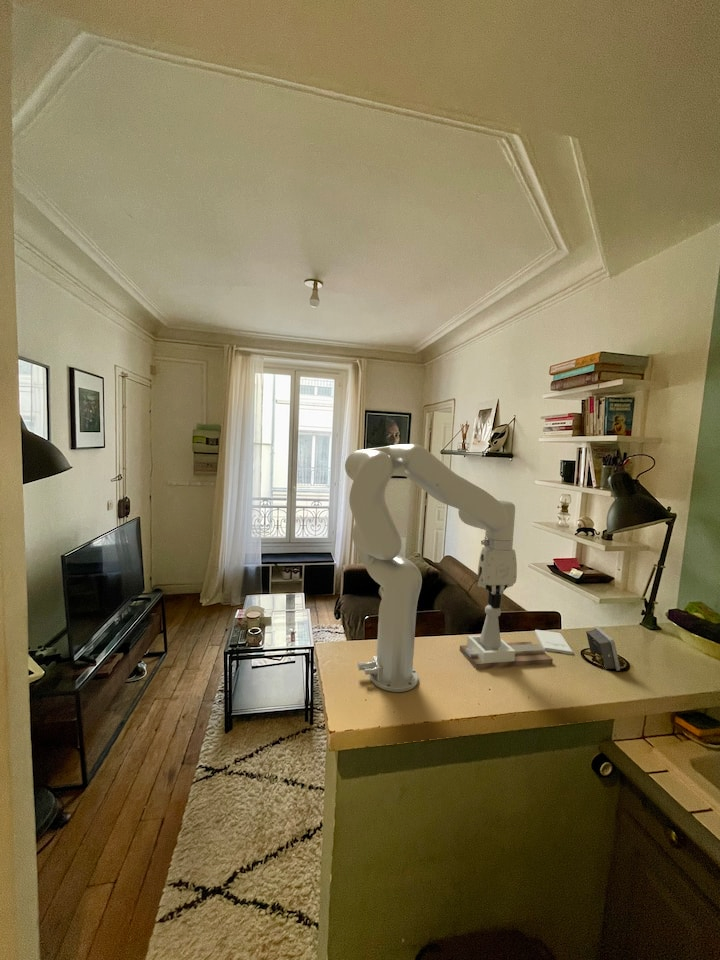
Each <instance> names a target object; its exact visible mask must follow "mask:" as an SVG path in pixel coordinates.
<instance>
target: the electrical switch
mask: <svg viewBox="0 0 720 960" xmlns="http://www.w3.org/2000/svg"><path fill="white" fill-rule="evenodd" d="M585 633H586V637H587V642H588V646H589V651H590V654H591V653H597V654H599V655H601V656H602V657H603V658H601V659H603V660H602V661H604V666H605V668H604V670H607V669H614V668H615V669H616V670H615V669H614V670H615V671H616V672H617V671H621V667H620V661H619V657H618V651H617V647H616V643H615V641H614V639H613V638H612V637H611V636H610V635H608V634H607V633H606V632H605V631H604V630H602V629H601V628H600V627H599V626H597V625H596V626H594V629H590V630H586V632H585ZM601 659H600V660H601Z"/></svg>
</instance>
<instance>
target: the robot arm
mask: <svg viewBox="0 0 720 960" xmlns="http://www.w3.org/2000/svg"><path fill="white" fill-rule="evenodd" d="M344 470H345V472H346V475H347V476H348V478H350V480H352V484H351V487H350V490H349V498H348V499H349V507H350V511H351V513H352V516H353V519H354V521H355V524H354V526H353V529H352V541H353V544H354V546H355V548H356V551H357V552H358V555H359V557H360V559H361V561H362V563H363V566H364V568H365V569H366V571H367V573H368V575H369V576H370V577H371V579H373V581H374V582H375V583H377V584H378V585H380V587H382V588H383V595H382V598H381V600H380V603H379V607H378V620H377V621H378V623H377V638H376V639H377V644H376V655H373V656H372V657H373V658H372V660H369V661H361V662H357V669H358V671H364V675H365V676H367V675H369V679H370V680H371V682H372V683H373V684H374V685H375V686H376V687H378V688H379V689H381V690H385V691H387V692H393V693H404V692H408V691H410V690H412V689H414V688H416V686H417V685H418V683H419V673H418V672H417V670H416V669H415V668H414V653H415V639H416V637H415V636H416V622H417V621H416V620H417V609H418V608H417V607H418V601H419V597H420V593H421V589H422V584H423V578H422V574H421V571H420V568H419V567H418V566H417V565H416V564H415V563H414V562H413V561H412V560H410V559H408V558H406V557H404V556H403V555H400V553H401V550H402V538H401V535H400V532H399V530H398V528H397V526H396V523H395V521H394V519H393V518H392V515H391V513H390V511H389V508H388V506H387V503H386V499H385V497H386V496H385V495H386V489H387V488H388V487H387V486H388V484H389V482H390V480H391V478H392V477H395V476H401V477H405V478H407V479H409V480H410V481H412V483H414V484H415V485H417V486H418V487H419V488H420V489H422V490H423V491H425V492H426V493H427V494H428V495H429V496H431V497H432V498H433V499H435V500H436V501H439V502H440V503H442V504H444V505H447V506H450V507H453V508H455V509H457V510H458V517H459V519H460V520H461V522H462V523H464V524H466V525H467V526H470V527H473V528H478V529H481V530H484V531H485V533H484V534H485V536H484V539H482V540H481V541H480V544H481V546H483V547H482V548H481V551H480V555H479V560H478V566H477V567H478V568H477V579H478V582H477V586H478V587H480V588H483V589H486V590H487V592H488V599H487V602H488V605H490V606H492V607H493V608H500V609H501V607H500V606H501V603H502V601H501V600H502V595H503V594H504V591H505V590H506V589H508V588H511V587H513V586H514V584H516V583H517V578H518V576H517V575H518V573H517V571H518V568H517V567H518V565H517V555H516V550H515V549H514V548H513V545H514V530H515V529H514V528H515V518H516V505H515V504H514V503H513V502H510V501H508V500H507V501H505V500H498V499H497V498H495V497H494V496H493V495H491V494H490V492H488V491H486V490H484V489H482V488H481V487H479V486H477V484H474V483H472V482H471V481H469V480H467V479H465V478H464V477H462V476H460V475H459V474H457V473H456V472H454V471H453V470H452V469H450V468H449V467H448V466H447V465H445V463H443V462H442V461H441V460H440V459H439V458H437V457H436V455H433V453H431V452H430V451H429V450H428V449H427V448H425V447H424V446H423V445H420V444H417V443H401V444H393V445H387V446H380V447H372V448H365V449H358V450H354V451H353V452H351V453H350V454H349V455H348V457H347V458H346V460H345V462H344Z"/></svg>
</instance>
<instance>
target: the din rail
mask: <svg viewBox="0 0 720 960" xmlns="http://www.w3.org/2000/svg"><path fill="white" fill-rule="evenodd" d="M509 646H510V647H511V648H513V649H514V650H515V655H521V654H537V653H546V651H545V649H544V648H543V647H542V645H541V644H538V643H533V644H525V645H509ZM499 648H500V647H499ZM498 650H499V649H498ZM500 650H502V649H500ZM465 652H466V653H467V654H468V655H469V656H470V657H471V658H474V657H478V653H477V652H476V651H475V650H474V649H473V648H465Z"/></svg>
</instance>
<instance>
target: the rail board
mask: <svg viewBox="0 0 720 960" xmlns="http://www.w3.org/2000/svg"><path fill="white" fill-rule="evenodd" d="M506 643H507V644H508V645H525V644H534V643H533V642H531V641H517V642H506ZM465 648H469V647H468V646H467V644H465V645H462V644H461V645H459V652H460V653H461V654H462V655H463V656H464V658H465V659H466V660H467V661H468V662H469V663H470V664H471V665H472V666H473V668H474V669H475V670H485V669H487V670H488V669H497V668H498V669H499V668H500V669H501V668H515V667H529V666H530V667H531V666H541V665H543V666H544V665H553V658H552V657H551V656H549V655H548V654H547V653H546V652H545V653H537V654H521V655H515V660H514V661H509V662H494V663H483V662H482V661H481V660H480V659H479V658H478V657H474V658H471V657H470V656H469V655H468V654H467V653H466V652H465Z"/></svg>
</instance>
